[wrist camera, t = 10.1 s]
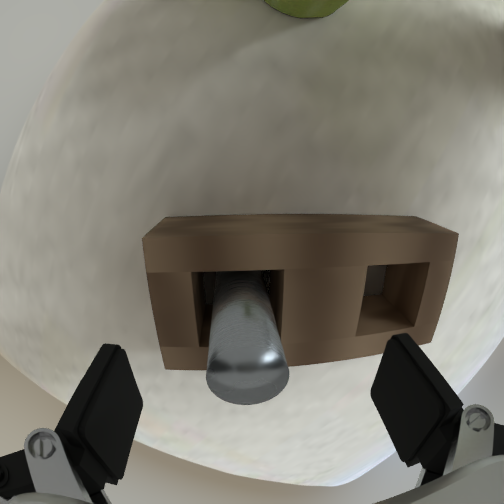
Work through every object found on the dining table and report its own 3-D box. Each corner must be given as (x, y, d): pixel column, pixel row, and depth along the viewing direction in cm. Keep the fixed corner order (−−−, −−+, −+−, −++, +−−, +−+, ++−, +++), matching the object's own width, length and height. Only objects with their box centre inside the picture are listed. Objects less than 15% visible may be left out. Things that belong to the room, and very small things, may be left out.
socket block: (416, 216, 18) (458, 233, 14) (399, 310, 21) (430, 342, 16) (165, 217, 17) (142, 238, 13) (177, 325, 20) (165, 369, 15)
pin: (261, 252, 18) (292, 344, 9) (261, 293, 19) (286, 401, 10) (215, 253, 18) (201, 348, 9) (217, 294, 19) (210, 405, 10)
